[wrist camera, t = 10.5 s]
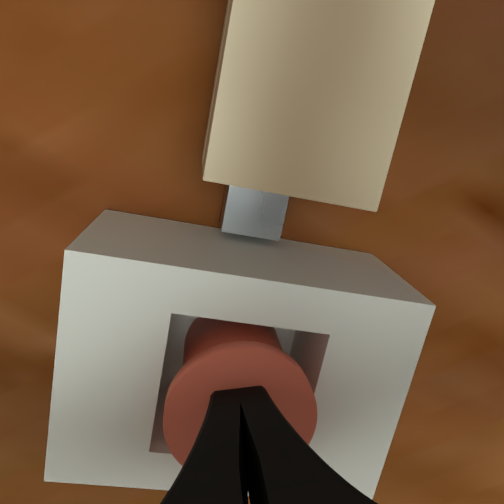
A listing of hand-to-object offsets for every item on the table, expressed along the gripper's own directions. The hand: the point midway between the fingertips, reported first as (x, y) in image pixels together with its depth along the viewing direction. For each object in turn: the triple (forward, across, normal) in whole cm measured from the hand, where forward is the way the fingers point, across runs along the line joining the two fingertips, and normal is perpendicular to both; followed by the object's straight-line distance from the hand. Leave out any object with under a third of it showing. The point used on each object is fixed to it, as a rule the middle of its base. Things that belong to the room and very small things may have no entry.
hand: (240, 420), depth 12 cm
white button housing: (+6, 0, 0) cm, 6 cm away
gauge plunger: (+4, 0, 0) cm, 4 cm away
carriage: (+6, -2, -9) cm, 11 cm away
